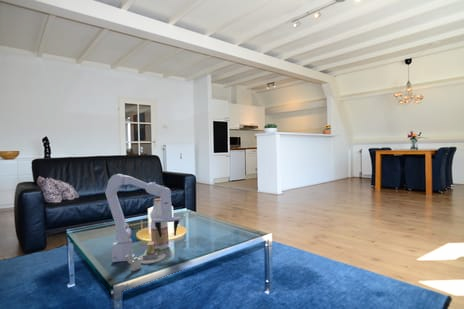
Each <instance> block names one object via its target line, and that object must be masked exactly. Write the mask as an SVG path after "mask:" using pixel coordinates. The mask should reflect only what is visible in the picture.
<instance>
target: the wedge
mask: <svg viewBox="0 0 464 309" xmlns="http://www.w3.org/2000/svg"><path fill="white" fill-rule="evenodd" d="M146 250H147V254H155V242H152V241H148V243H147V244H146Z"/></svg>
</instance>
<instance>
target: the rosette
mask: <svg viewBox="0 0 464 309" xmlns="http://www.w3.org/2000/svg"><path fill="white" fill-rule="evenodd" d="M166 257H167V254H166V253H164V252H162V251H161V250H159V249H155V254H147V249H145V251H144V253H143V254H141V255H139V256H138V258H140V260H141V265H152V264H157V263H158V262H162V261H164V260H165V259H166Z"/></svg>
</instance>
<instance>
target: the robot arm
mask: <svg viewBox="0 0 464 309" xmlns="http://www.w3.org/2000/svg"><path fill="white" fill-rule="evenodd" d="M125 185H131V186H135V187H137V188H142V189H143V190H145V192H146V193H147V194H150V195H153V196H156V197H159V198H161V218H160V219H153V224H155V227H156V228H157V230H158V232H159V236H160V237H161V236H162V234H161V223H164V222H167V223H173V229H174V230H173V231H174V232H173V236H175V237H176V236H177V231H178V230H177V228H178V225H179V224H180V222H181V221H182V217H181V216H174V217H173V206H172V197H171V196H172V191H171V189H170V188H169V187H167V186H165V185H161V184H157V183H156V182H155V181H153V182H148V183H147V182H145V181H143V180H140V179H137V178H135V177H133V176H130V175H126V174H123V173H117V174H113V175H111V177H110V178H109V180H107V185H106V189H105V196H106V197H105V198H106V199H107V203H108V207H109V209H110V213H111V215H112V218H113V219H112V220H114V221H113V222H114V224H115V234H116V235H115V239H116V242H113V243H112V246H111V256H112V261H111V262H112V263H118V262H128V261H127V260H126V258H125V256H126V255H127V254H128V255H129V256H130V257H131V259H132V260H133V258H135V257H136V254H133V241H132V240H133V239H132V238H131V236H132V234H133V231H132V228H130V226H129V225H128V223H127V221H126V219H125V215H124V212H123V210H122V207H121V204H120V199H119V198H118V194H117V193H118V191H119V190H120V188H121V187H122V186H125Z"/></svg>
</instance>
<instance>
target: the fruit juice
mask: <svg viewBox="0 0 464 309" xmlns="http://www.w3.org/2000/svg"><path fill="white" fill-rule="evenodd" d="M152 201H153V207H152V209H151V212H150V219H151V221H150V236H151V238H150V239H151V241H150V242H155V249H159V250H160V251H163V250H165V249H168V248H169V247H168V246H169V244H170V243H169V242H170V241H169V230H168V229H169V226H168V222H164V223H161V234H162V236H161V237H160V236H159V232H158V230H157V228H156V227H155V224H153V219H160V218H161V197H159V198H154V199H153V200H152ZM167 247H168V248H167Z"/></svg>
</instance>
